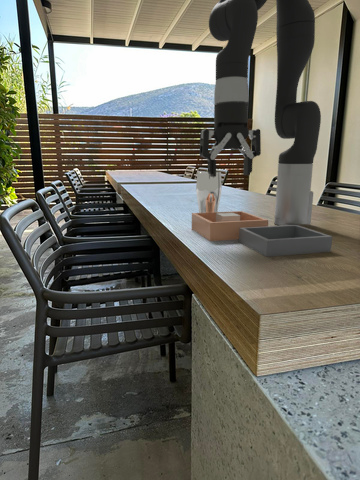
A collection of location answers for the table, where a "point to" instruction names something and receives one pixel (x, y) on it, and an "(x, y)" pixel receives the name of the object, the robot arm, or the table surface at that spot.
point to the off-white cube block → (227, 217)
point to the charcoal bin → (284, 240)
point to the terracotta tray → (224, 225)
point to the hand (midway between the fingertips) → (229, 175)
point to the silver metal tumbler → (208, 192)
